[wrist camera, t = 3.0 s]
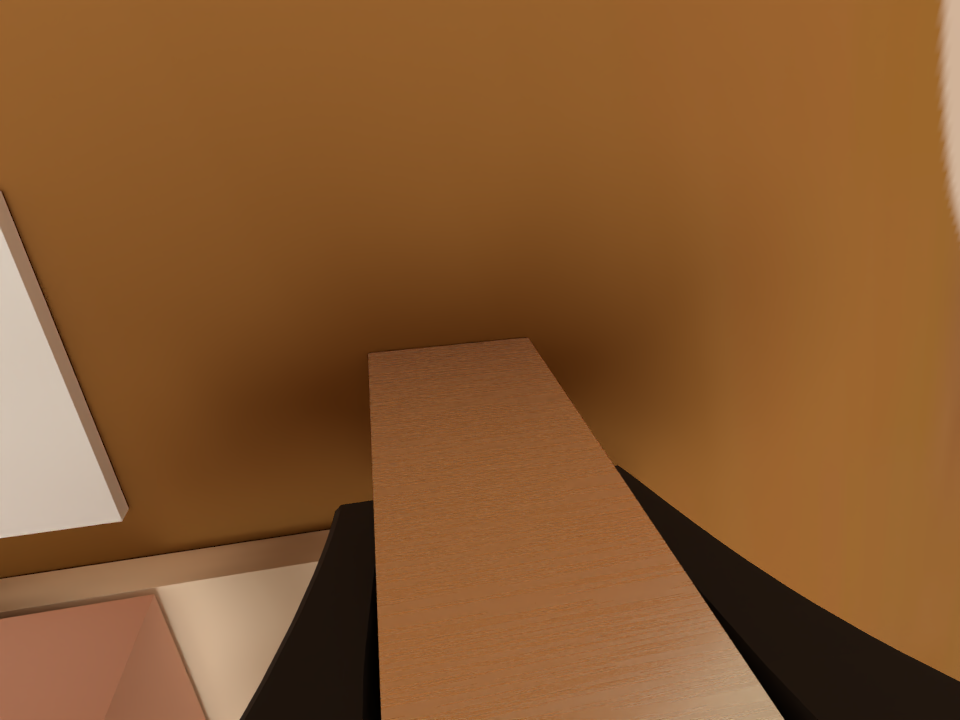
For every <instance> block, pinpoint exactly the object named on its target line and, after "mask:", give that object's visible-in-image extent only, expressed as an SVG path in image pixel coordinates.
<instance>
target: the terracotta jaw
mask: <svg viewBox="0 0 960 720" xmlns="http://www.w3.org/2000/svg"><path fill="white" fill-rule="evenodd" d="M0 720H206V718H205V716H204V713H203V711H202V709H201V706H200V704H199V701H198V699H197V696H196V694H195V692H194V689H193V687H192V684H191V682H190V680H189V677H188V675H187V672H186V670H185V667H184V665H183V663H182V660H181V658H180V655H179V653H178V650H177V648H176V646H175V643H174V641H173V638H172V636H171V634H170V631H169V629H168V626H167V624H166V621H165V619H164V617H163V614H162V612H161V609H160V607H159V604H158V602H157V600H156V597H155V595H154V594H153V595H146V596H140V597H134V598H128V599H121V600H115V601H109V602H103V603H97V604H90V605H84V606H78V607H72V608H66V609H59V610H53V611H47V612H41V613H35V614H28V615H22V616H16V617H10V618H4V619H0Z"/></svg>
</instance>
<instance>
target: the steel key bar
mask: <svg viewBox="0 0 960 720" xmlns="http://www.w3.org/2000/svg"><path fill="white" fill-rule="evenodd" d="M368 363H369V391H370V418H371V446H372V474H373V502H374V529H375V557H376V585H377V613H378V640H379V668H380V696H381V720H784V718H783V717H782V716H781V714H780V713H779V711H778V710H777V708H776V707H775V705H774V704H773V702H772V701H771V699H770V698H769V696H768V695H767V693H766V692H765V690H764V689H763V687H762V686H761V684H760V683H759V681H758V680H757V678H756V677H755V675H754V674H753V672H752V671H751V669H750V668H749V666H748V665H747V663H746V662H745V660H744V659H743V657H742V656H741V654H740V653H739V651H738V650H737V648H736V647H735V645H734V644H733V642H732V641H731V639H730V638H729V636H728V635H727V633H726V632H725V630H724V629H723V628H722V626H721V625H720V623H719V622H718V620H717V619H716V617H715V616H714V614H713V613H712V611H711V610H710V608H709V607H708V605H707V604H706V602H705V601H704V599H703V598H702V596H701V595H700V593H699V592H698V590H697V589H696V587H695V586H694V584H693V583H692V581H691V580H690V578H689V577H688V575H687V574H686V572H685V571H684V569H683V568H682V566H681V565H680V563H679V562H678V560H677V559H676V557H675V556H674V554H673V553H672V551H671V550H670V548H669V547H668V545H667V544H666V542H665V541H664V540H663V538H662V537H661V535H660V534H659V532H658V531H657V529H656V528H655V526H654V525H653V523H652V522H651V520H650V519H649V517H648V516H647V514H646V513H645V511H644V510H643V508H642V507H641V505H640V504H639V502H638V501H637V499H636V498H635V496H634V495H633V493H632V492H631V490H630V489H629V487H628V486H627V484H626V483H625V481H624V480H623V478H622V477H621V475H620V474H619V472H618V471H617V469H616V468H615V466H614V465H613V463H612V462H611V460H610V459H609V457H608V456H607V454H606V453H605V451H604V450H603V449H602V447H601V446H600V444H599V443H598V441H597V440H596V438H595V437H594V435H593V434H592V432H591V431H590V429H589V428H588V426H587V425H586V423H585V422H584V420H583V419H582V417H581V416H580V414H579V413H578V411H577V410H576V408H575V407H574V405H573V404H572V402H571V401H570V399H569V398H568V396H567V395H566V393H565V392H564V390H563V389H562V387H561V386H560V384H559V383H558V381H557V380H556V378H555V377H554V375H553V374H552V372H551V371H550V369H549V368H548V366H547V365H546V363H545V362H544V361H543V359H542V358H541V356H540V355H539V353H538V352H537V350H536V349H535V347H534V346H533V344H532V343H531V341H530V340H529V338H528V337H527V338H517V339H507V340H497V341H487V342H477V343H466V344H456V345H446V346H436V347H426V348H416V349H405V350H395V351H385V352H375V353H368Z"/></svg>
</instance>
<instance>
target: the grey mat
mask: <svg viewBox="0 0 960 720" xmlns="http://www.w3.org/2000/svg"><path fill="white" fill-rule="evenodd" d="M128 510H129V508H128V505H127V503H126V500H125V498H124V496H123V493H122V491H121V488H120V486H119V483H118V481H117V478H116V476H115V473H114V471H113V468H112V466H111V463H110V461H109V458H108V456H107V453H106V451H105V448H104V446H103V443H102V441H101V438H100V436H99V433H98V431H97V428H96V426H95V423H94V421H93V418H92V416H91V413H90V411H89V408H88V406H87V404H86V401H85V399H84V396H83V394H82V391H81V389H80V386H79V384H78V381H77V379H76V376H75V374H74V371H73V369H72V366H71V364H70V361H69V359H68V356H67V354H66V351H65V349H64V346H63V344H62V341H61V339H60V336H59V334H58V331H57V329H56V326H55V324H54V321H53V319H52V316H51V314H50V311H49V309H48V307H47V304H46V302H45V299H44V297H43V294H42V292H41V289H40V287H39V284H38V282H37V279H36V277H35V274H34V272H33V269H32V267H31V264H30V262H29V259H28V257H27V254H26V252H25V249H24V247H23V244H22V242H21V239H20V237H19V234H18V232H17V229H16V227H15V224H14V222H13V219H12V217H11V215H10V212H9V210H8V207H7V205H6V202H5V200H4V197H3V195H2V192H1V191H0V538H5V537H12V536H20V535H27V534H34V533H41V532H48V531H56V530H63V529H70V528H77V527H84V526H92V525H99V524H106V523H113V522H120V521H123V519H124V517H125V515H126V513H127V511H128Z"/></svg>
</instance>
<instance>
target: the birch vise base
mask: <svg viewBox="0 0 960 720" xmlns="http://www.w3.org/2000/svg"><path fill="white" fill-rule="evenodd" d="M329 531H330V530H323V531H317V532H310V533H303V534H297V535H290V536H283V537H277V538H270V539H264V540H257V541H250V542H244V543H237V544H230V545H224V546H217V547H210V548H204V549H197V550H190V551H184V552H177V553H170V554H164V555H157V556H150V557H144V558H137V559H130V560H124V561H117V562H110V563H104V564H97V565H90V566H84V567H77V568H71V569H64V570H57V571H51V572H44V573H37V574H31V575H24V576H17V577H11V578H4V579H0V619H4V618H10V617H16V616H22V615H28V614H35V613H41V612H47V611H53V610H59V609H66V608H72V607H78V606H84V605H90V604H97V603H103V602H109V601H115V600H121V599H128V598H134V597H140V596H146V595H153V594H154V595H155V597H156V600H157V602H158V604H159V607H160V609H161V612H162V614H163V617H164V619H165V621H166V624H167V626H168V629H169V631H170V634H171V636H172V638H173V641H174V643H175V646H176V648H177V650H178V653H179V655H180V658H181V660H182V663H183V665H184V667H185V670H186V672H187V675H188V677H189V680H190V682H191V684H192V687H193V689H194V692H195V694H196V696H197V699H198V701H199V704H200V706H201V709H202V711H203V713H204V716H205V718H206V720H240V718H241V716H242V715H243V713H244V711H245V709H246V708H247V706H248V704H249V702H250V701H251V699H252V697H253V695H254V694H255V692H256V690H257V688H258V686H259V685H260V683H261V681H262V679H263V677H264V675H265V673H266V671H267V669H268V667H269V665H270V664H271V662H272V660H273V658H274V656H275V654H276V652H277V650H278V648H279V646H280V644H281V642H282V640H283V638H284V636H285V635H286V633H287V631H288V629H289V627H290V625H291V622H292V620H293V618H294V616H295V614H296V612H297V610H298V607H299V605H300V603H301V601H302V598H303V596H304V594H305V592H306V589H307V587H308V585H309V583H310V581H311V578H312V576H313V574H314V571H315V569H316V566H317V564H318V561H319V559H320V556H321V554H322V551H323V548H324V546H325V543H326V540H327V537H328V534H329Z"/></svg>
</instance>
